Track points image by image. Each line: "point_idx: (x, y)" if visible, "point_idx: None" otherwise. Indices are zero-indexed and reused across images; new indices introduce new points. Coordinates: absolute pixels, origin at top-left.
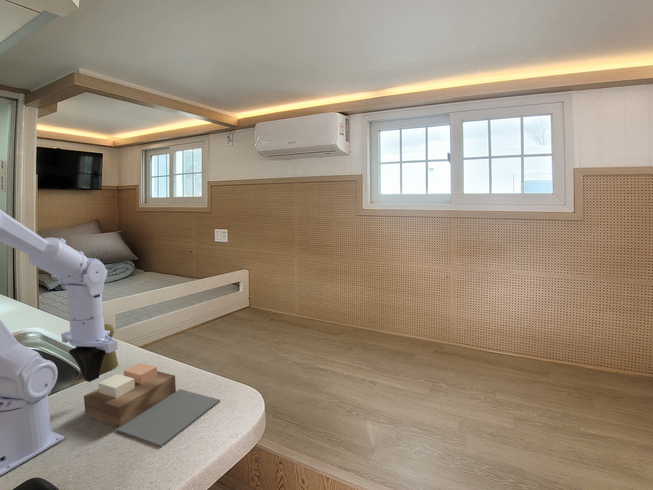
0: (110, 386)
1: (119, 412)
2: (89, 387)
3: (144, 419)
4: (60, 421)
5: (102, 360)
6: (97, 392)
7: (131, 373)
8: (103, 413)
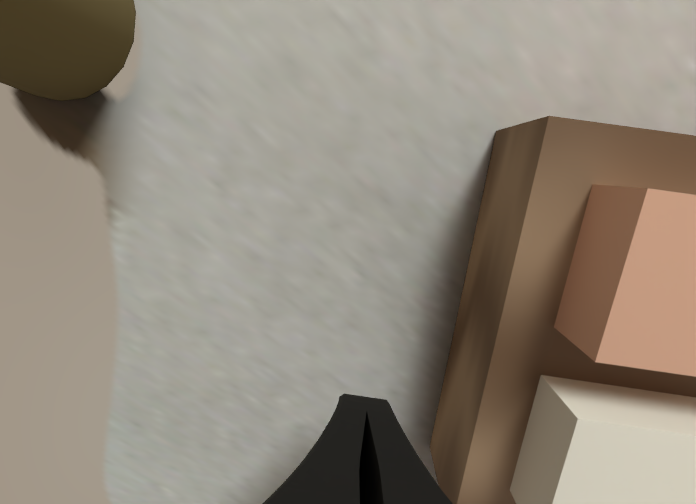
0: None
1: None
2: (211, 249)
3: None
4: None
5: (447, 500)
6: (500, 492)
7: (690, 374)
8: None
